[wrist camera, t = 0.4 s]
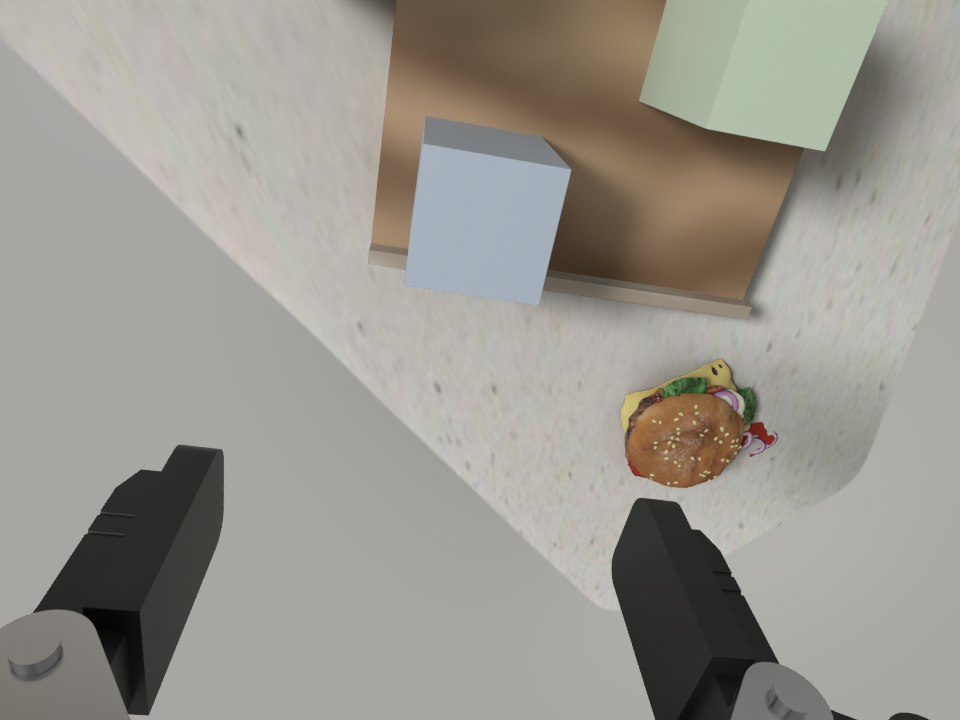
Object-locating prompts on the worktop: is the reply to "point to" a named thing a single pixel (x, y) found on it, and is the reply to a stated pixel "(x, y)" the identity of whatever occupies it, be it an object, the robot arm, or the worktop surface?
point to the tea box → (760, 65)
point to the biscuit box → (484, 211)
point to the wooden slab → (585, 147)
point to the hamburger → (690, 427)
